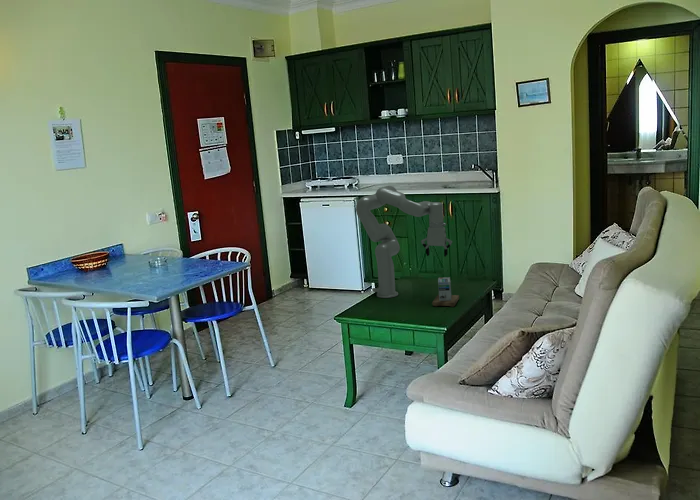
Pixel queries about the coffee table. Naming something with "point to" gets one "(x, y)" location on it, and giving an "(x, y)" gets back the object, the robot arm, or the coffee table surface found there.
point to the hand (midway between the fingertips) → (436, 255)
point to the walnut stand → (446, 303)
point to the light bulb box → (444, 289)
